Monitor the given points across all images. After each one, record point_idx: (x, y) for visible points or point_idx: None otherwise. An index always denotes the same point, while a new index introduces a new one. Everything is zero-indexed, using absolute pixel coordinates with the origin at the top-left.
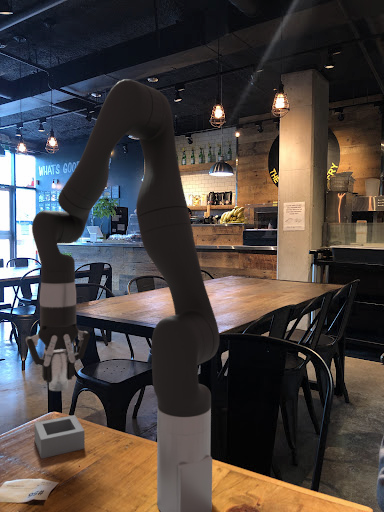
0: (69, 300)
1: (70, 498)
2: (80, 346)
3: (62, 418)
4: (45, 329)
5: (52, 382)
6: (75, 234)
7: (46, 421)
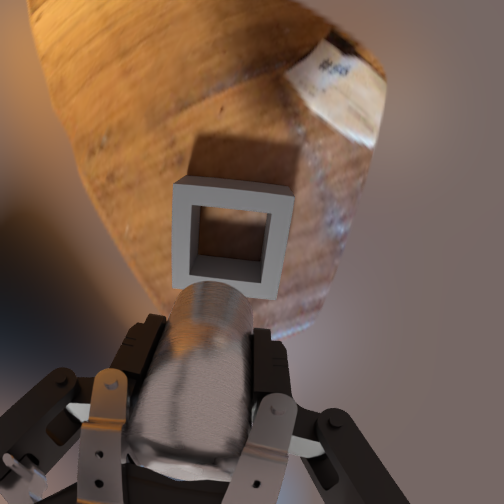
0: None
1: (282, 16)
2: (41, 432)
3: None
4: None
5: (245, 321)
6: None
7: (247, 291)
